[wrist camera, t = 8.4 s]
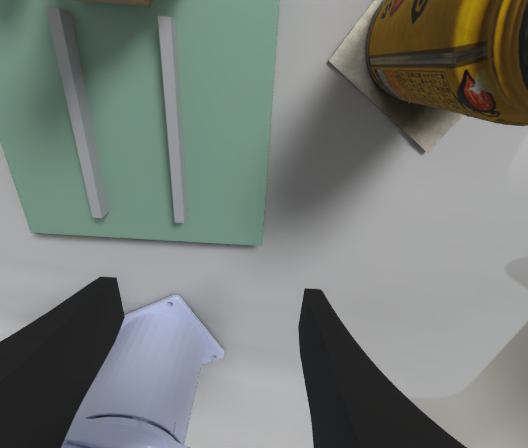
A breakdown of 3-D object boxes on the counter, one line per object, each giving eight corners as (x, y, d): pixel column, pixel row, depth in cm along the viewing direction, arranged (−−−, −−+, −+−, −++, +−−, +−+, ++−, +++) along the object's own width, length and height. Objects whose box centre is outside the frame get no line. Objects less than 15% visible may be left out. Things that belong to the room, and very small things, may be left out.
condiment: (432, -78, 14) (896, -476, 4) (531, 47, 17) (987, 17, 6) (327, 60, 17) (426, 54, 7) (424, 151, 19) (614, 256, 9)
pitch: (262, 237, 22) (261, 253, 20) (42, 224, 22) (20, 240, 20) (301, -321, 11) (308, -401, 9) (-143, -366, 11) (-231, -460, 9)
